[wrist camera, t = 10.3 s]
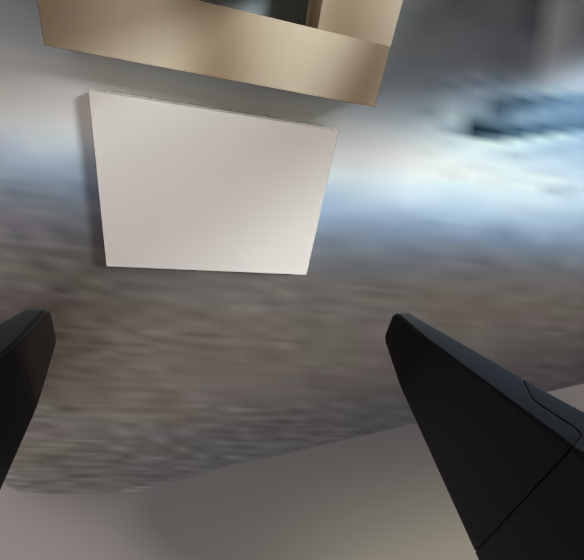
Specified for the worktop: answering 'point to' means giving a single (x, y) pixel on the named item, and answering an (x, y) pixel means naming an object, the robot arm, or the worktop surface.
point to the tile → (207, 185)
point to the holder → (237, 41)
